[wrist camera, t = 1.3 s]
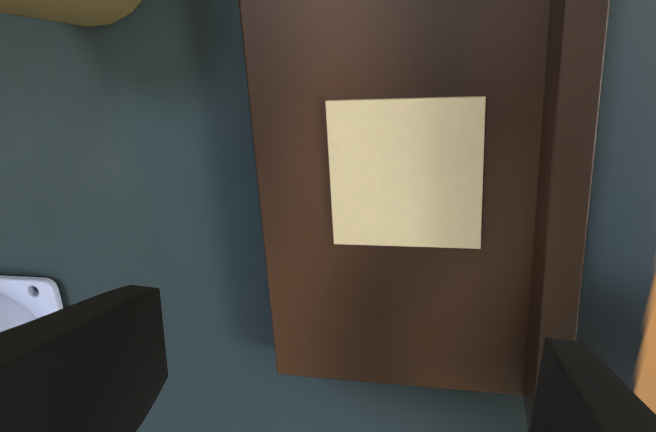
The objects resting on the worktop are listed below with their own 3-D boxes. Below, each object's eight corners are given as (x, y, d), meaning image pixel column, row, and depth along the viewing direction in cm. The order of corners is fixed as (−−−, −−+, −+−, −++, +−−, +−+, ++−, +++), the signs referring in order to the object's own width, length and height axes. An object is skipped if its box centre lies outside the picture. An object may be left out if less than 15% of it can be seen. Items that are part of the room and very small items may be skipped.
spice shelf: (287, 353, 23) (254, 418, 20) (239, -159, 17) (178, -203, 14) (547, 373, 21) (565, 451, 17) (596, -209, 15) (638, -277, 11)
